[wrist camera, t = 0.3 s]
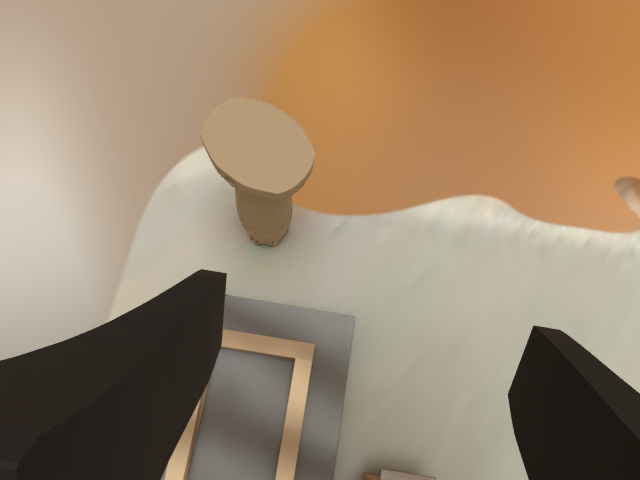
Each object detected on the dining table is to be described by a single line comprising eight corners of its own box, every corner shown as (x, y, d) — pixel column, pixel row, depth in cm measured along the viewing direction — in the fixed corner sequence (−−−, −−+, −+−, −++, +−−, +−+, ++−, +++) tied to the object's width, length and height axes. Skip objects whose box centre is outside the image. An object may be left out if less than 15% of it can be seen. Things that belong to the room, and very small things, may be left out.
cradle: (313, 611, 35) (315, 628, 33) (106, 578, 35) (92, 593, 32) (353, 318, 41) (358, 312, 39) (177, 288, 41) (170, 280, 38)
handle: (279, 276, 42) (276, 210, 28) (217, 228, 43) (183, 141, 28) (316, 231, 43) (331, 146, 29) (255, 185, 44) (241, 81, 30)
